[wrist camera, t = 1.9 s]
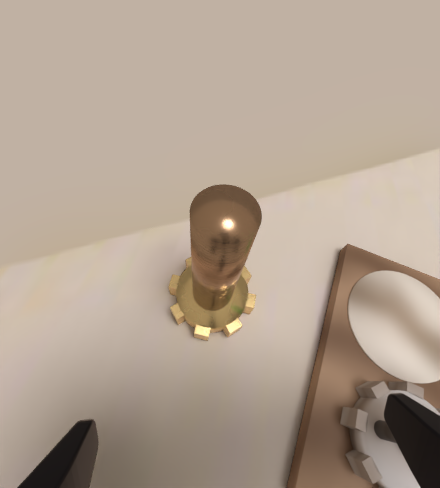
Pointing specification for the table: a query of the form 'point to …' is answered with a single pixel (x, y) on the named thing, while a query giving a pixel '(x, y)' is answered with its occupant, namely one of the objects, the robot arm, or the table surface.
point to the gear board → (368, 373)
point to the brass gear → (217, 262)
